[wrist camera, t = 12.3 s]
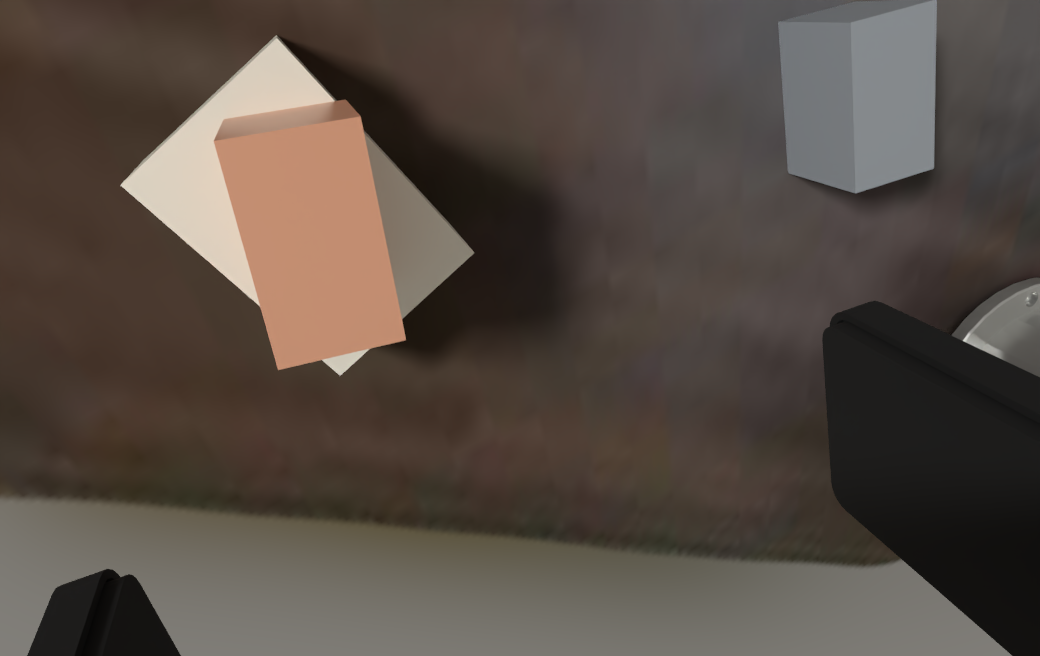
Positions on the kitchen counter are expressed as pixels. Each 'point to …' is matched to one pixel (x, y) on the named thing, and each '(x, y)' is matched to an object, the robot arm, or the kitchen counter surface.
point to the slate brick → (860, 92)
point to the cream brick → (207, 207)
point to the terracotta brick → (311, 230)
